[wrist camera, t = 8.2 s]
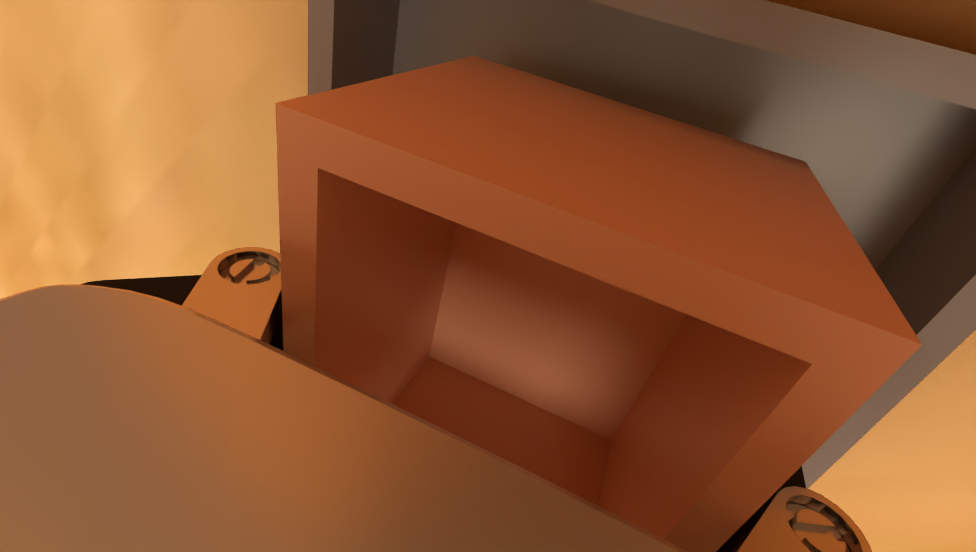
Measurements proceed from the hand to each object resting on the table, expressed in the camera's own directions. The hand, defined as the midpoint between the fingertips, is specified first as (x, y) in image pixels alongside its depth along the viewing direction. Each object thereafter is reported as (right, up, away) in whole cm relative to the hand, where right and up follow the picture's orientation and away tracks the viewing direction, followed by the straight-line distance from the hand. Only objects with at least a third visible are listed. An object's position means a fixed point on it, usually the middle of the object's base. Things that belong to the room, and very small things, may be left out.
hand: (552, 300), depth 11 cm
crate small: (0, 0, +1) cm, 1 cm away
